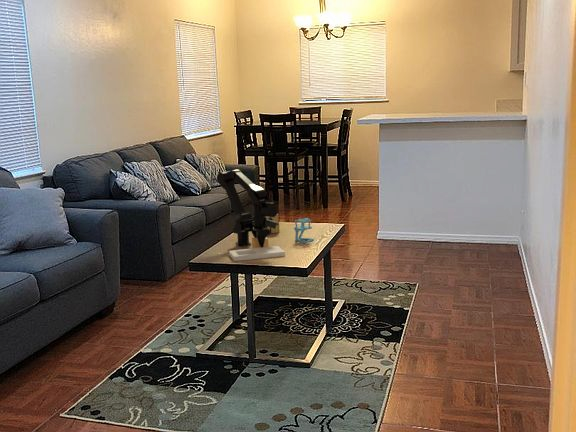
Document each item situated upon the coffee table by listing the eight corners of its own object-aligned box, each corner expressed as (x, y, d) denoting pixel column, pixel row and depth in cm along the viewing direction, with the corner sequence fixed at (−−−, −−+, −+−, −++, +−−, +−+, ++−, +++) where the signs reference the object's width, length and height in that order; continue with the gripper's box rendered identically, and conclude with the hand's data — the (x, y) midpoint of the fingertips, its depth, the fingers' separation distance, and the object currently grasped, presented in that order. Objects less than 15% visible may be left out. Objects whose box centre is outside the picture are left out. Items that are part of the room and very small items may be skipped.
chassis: (229, 254, 299) (228, 250, 298) (278, 249, 305) (277, 245, 305) (234, 261, 287) (234, 256, 287) (285, 255, 294) (284, 251, 294)
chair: (301, 238, 328) (300, 215, 326) (314, 240, 323) (313, 217, 320) (292, 241, 322) (291, 218, 320) (305, 243, 317) (304, 219, 315)
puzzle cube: (257, 230, 349) (256, 213, 347) (274, 229, 352) (273, 211, 350) (261, 234, 340) (261, 216, 338) (279, 232, 342) (279, 214, 340)
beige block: (252, 247, 312) (251, 237, 311) (266, 246, 313) (265, 236, 312) (254, 250, 307) (254, 240, 306) (268, 248, 309) (268, 238, 308)
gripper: (280, 216, 300) (281, 248, 303) (270, 210, 318) (271, 240, 321) (257, 218, 297) (258, 251, 300) (248, 211, 315) (249, 242, 318)
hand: (260, 246), depth 310 cm, fingers open, 6 cm apart
